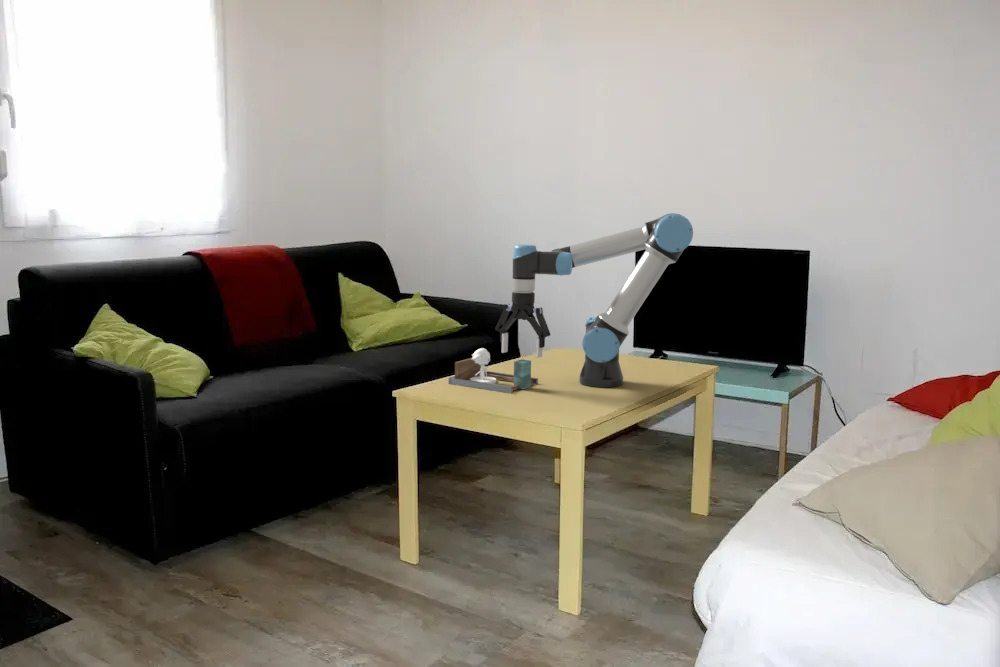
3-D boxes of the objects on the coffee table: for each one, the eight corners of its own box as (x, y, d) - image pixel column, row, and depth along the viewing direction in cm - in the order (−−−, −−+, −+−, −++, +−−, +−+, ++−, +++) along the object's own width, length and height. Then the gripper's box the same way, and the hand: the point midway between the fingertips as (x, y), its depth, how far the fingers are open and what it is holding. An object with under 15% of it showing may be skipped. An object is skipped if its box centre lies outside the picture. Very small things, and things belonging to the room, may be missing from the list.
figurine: (496, 385, 295) (496, 350, 293) (469, 385, 295) (469, 350, 293) (496, 379, 304) (496, 346, 302) (470, 379, 304) (470, 345, 302)
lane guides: (538, 383, 298) (538, 378, 297) (510, 393, 283) (510, 387, 283) (477, 375, 311) (477, 369, 311) (448, 383, 297) (448, 377, 297)
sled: (537, 384, 296) (537, 358, 294) (515, 391, 284) (516, 364, 283) (477, 375, 309) (477, 350, 308) (454, 382, 298) (454, 356, 296)
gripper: (562, 293, 282) (559, 357, 286) (498, 287, 296) (496, 348, 299) (550, 295, 276) (548, 360, 279) (485, 289, 290) (484, 351, 293)
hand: (521, 354), depth 289 cm, fingers open, 13 cm apart
